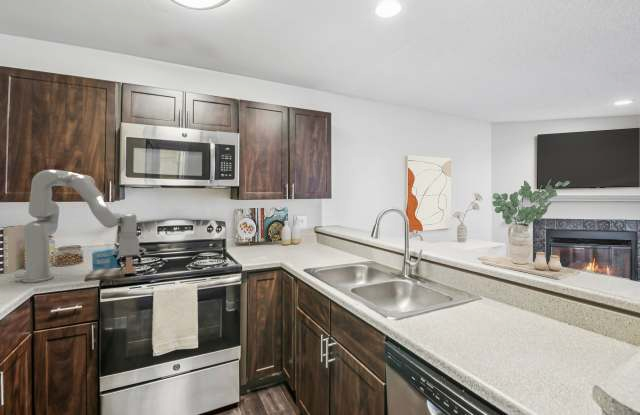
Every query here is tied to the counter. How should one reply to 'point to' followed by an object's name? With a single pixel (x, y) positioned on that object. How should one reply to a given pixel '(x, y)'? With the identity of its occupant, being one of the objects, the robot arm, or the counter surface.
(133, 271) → the stub
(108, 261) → the data package
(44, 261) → the robot arm
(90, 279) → the ticket pad
